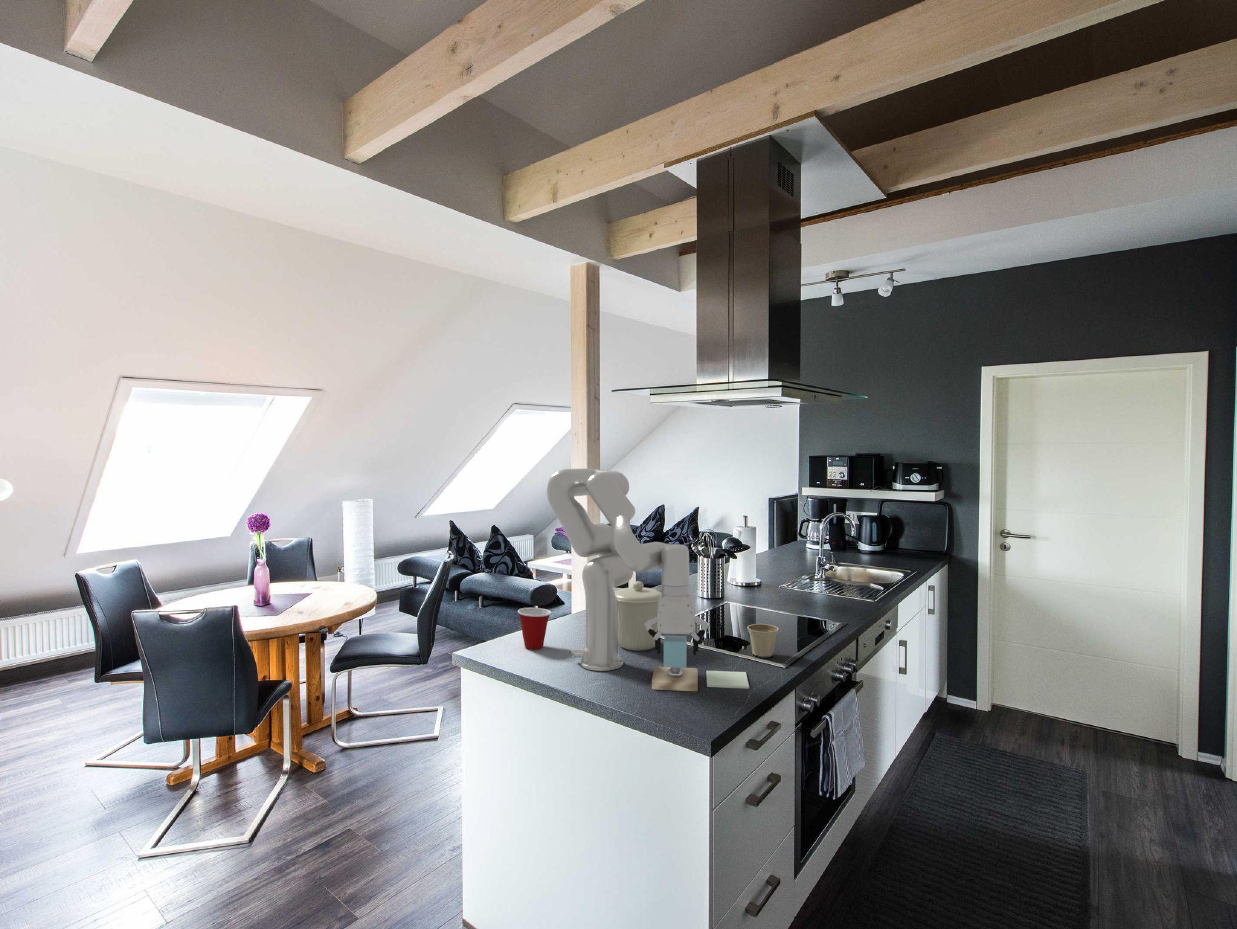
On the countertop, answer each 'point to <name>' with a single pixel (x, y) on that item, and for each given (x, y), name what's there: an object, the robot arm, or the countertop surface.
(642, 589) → the canister
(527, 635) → the plastic cup
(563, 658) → the countertop surface
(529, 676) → the countertop surface
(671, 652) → the light blue upright block
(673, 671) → the post
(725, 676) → the mat
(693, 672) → the post base
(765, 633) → the flower pot
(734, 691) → the countertop surface
